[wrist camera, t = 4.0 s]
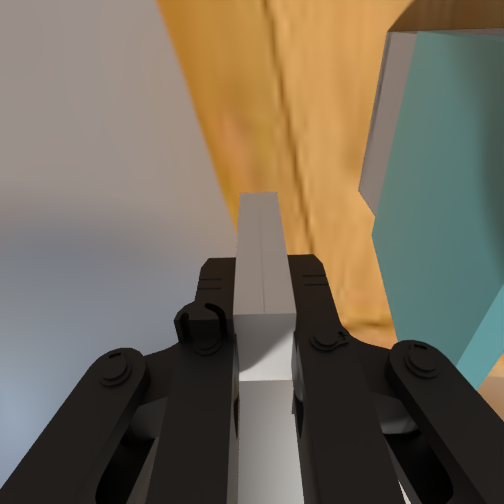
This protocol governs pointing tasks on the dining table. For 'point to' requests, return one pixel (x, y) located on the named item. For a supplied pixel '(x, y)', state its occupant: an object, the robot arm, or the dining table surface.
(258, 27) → the dining table surface
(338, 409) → the robot arm
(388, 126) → the box
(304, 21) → the dining table surface
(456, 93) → the lid
